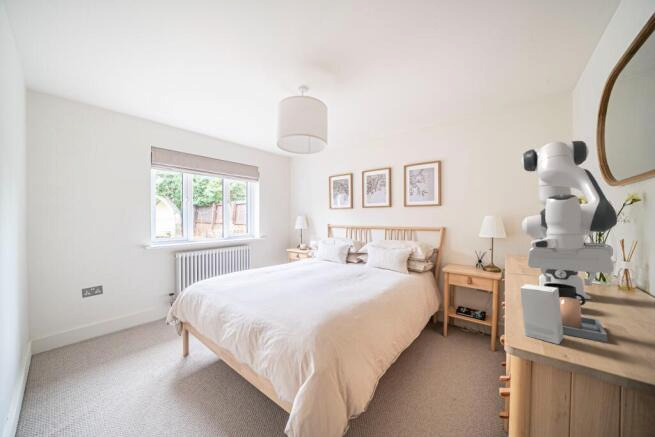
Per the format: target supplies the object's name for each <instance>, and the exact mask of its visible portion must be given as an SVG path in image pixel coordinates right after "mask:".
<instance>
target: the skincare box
mask: <svg viewBox="0 0 655 437" xmlns="http://www.w3.org/2000/svg"><path fill="white" fill-rule="evenodd" d="M519 290H520V291H519V292H520V300H521V308H522V311H521V312H522V318H523V330H524V336H525V337H530V338H533V339H537V340H541V341H545V342H548V343H552V344H555V345H559V344H560V343H561V342H562V340H563V339H564V334H563V328H562V318H561V309H560V300H559V292H558V288H555V287H547V286H539V284H538V285H536V284H529V283H525V284H524V285H523V286H521V287H519Z"/></svg>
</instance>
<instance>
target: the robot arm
mask: <svg viewBox="0 0 655 437" xmlns="http://www.w3.org/2000/svg"><path fill="white" fill-rule="evenodd" d="M589 152H590V150H589V147H588V145H587V143H586V142H584V141H583V140H572V141H570V142H569V141H567V142H564V141H553V142H549V143H547V144H544V145H543V146H542V147H538V148H535V149H533V148H532V149H529V150H527V151H525V152H524V153H523V154H522V157H521V163H520V164H521V165H522V167H523V169H524V170H525V171H526V172H535V171H536V172H537V174H538V184H537V185H538V186H537V187H538V199H539V200H538V201H539V202H540V203H541V204H542V205H543V206H545V208H543V209H542V210H541V211H540V212H539V214H535V215H530V216H529V215H528V216H526V217H525V218H523V219H522V222H521V229H522V231H523V232H524V233H525V234H526V235H528V236H529V237H531V238H532V239H533V240H531V242H530V248H529V250H528V251H527V252H528V253H527V262H526V264H527V267H529V268H530V269H540V272H541V273H542V274H540V275H539V277H538V282H539V284H538V286H544V284H546V283H559V284H566V285H571V286H574V287H576V293H577V294H580V295H582V296H583V297H584V298H585V300H591V299H592V297H591V295H589V294H587V293H586V291H585V286H588V287H589V286H590V287H592V286H593V282H592V281H594V280H595V278H596V277H597V273H602V274H603V273H604V274H610V273H612V272H614V264H613V260H612V258H611V257H612V256H613V255H614V248H613V247H612V246H611V245H609V244H608V243H607V244H606V243H605V242H585V239H584V236H591V235H592V234H594V233H595V232H597V233H599V232H600V233H605V232H607V231H609V230H610V229H612V228H614V227H616V226H617V223H618V213H617V212H616V209H615V208H614V206H613V205H612V203H611V202H610V201H609V200H608V199H607V197H606V195H605V193H604V192H603V190H602V188H601V187H600V185H599V183H598V181H597V180H596V178H595V176H594V175H593V174H592V173H591V171H590V170H588V169H586V168H582V167H580V165H581V164H583V163H584V162H585V161H586V160H587V158H588V156H589ZM571 189H576V190H579V191H581V193H582V194H583V196H584V198H585V200H586V203H581V202H580V200H579V198H578V196H577V195H575V194H572V190H571ZM579 272H588V274H589V275H590V276H589V277H588V278H584V279H582V277H580V276H579ZM577 300H582V299H581V297H579V296H577Z"/></svg>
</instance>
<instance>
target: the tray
mask: <svg viewBox="0 0 655 437" xmlns="http://www.w3.org/2000/svg"><path fill="white" fill-rule="evenodd" d="M581 319H582V329H577V328H572V327H566V326H562V328H563V336H569V337H575V338H580V339H586V340H590V341H594V342H600V343H606V344H608V342H609V341H608V334H607V332H606V331H605V329H604V327H603V325H602V323H601V322H600V320H599V319H598V318H591V317H584V316H581Z"/></svg>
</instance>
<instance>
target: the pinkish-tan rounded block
mask: <svg viewBox="0 0 655 437" xmlns="http://www.w3.org/2000/svg"><path fill="white" fill-rule="evenodd" d="M559 300H560V309H561V318H562V326H566V327H572V328H577V329H582V319H581V317H582V308H581V306H582V305H580V303H581V299H574V298H568V297H559Z"/></svg>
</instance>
